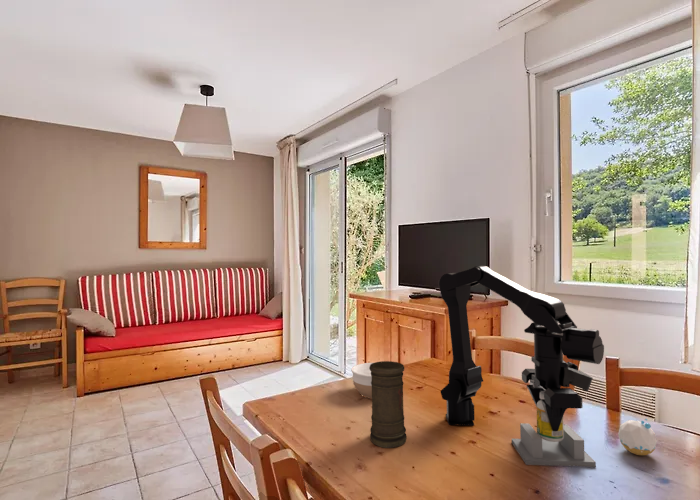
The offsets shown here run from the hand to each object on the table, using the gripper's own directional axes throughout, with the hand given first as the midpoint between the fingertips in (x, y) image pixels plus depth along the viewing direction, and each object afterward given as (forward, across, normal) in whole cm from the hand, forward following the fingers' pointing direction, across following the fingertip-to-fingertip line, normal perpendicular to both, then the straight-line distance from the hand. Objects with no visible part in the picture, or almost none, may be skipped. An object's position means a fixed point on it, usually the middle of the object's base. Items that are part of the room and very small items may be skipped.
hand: (549, 425), depth 89 cm
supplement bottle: (+3, 0, 0) cm, 3 cm away
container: (+7, +5, +36) cm, 37 cm away
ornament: (+6, +1, -19) cm, 20 cm away
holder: (+6, 0, 0) cm, 6 cm away
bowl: (+7, +38, +40) cm, 55 cm away
